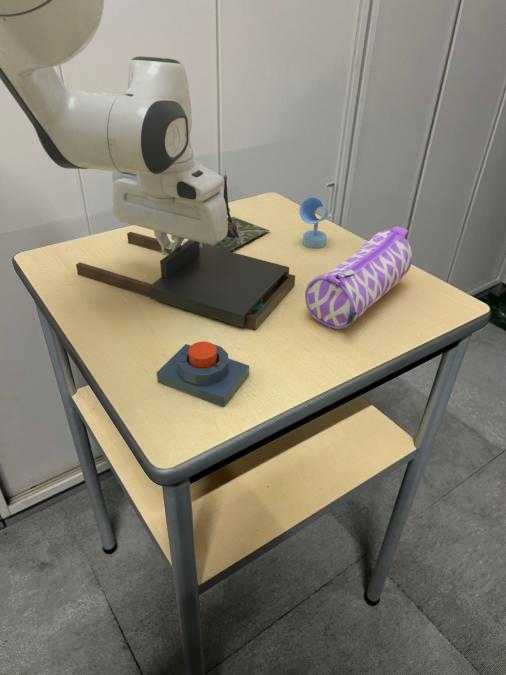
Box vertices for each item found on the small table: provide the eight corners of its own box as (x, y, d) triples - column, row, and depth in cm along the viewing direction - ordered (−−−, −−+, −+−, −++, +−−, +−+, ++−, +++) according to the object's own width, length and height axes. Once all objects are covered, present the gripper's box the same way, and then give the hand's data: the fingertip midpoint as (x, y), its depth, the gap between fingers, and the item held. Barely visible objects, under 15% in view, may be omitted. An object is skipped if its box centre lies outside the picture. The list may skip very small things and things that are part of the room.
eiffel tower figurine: (221, 259, 96) (220, 188, 88) (182, 243, 100) (177, 175, 92) (270, 232, 105) (273, 166, 97) (231, 218, 110) (231, 155, 102)
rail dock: (77, 274, 90) (75, 264, 89) (131, 240, 101) (130, 231, 99) (255, 330, 78) (255, 319, 76) (294, 285, 88) (295, 275, 87)
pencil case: (349, 343, 76) (358, 287, 70) (296, 320, 80) (300, 266, 74) (410, 283, 90) (422, 233, 84) (362, 266, 94) (370, 218, 89)
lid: (150, 298, 83) (146, 269, 80) (204, 255, 95) (203, 229, 92) (243, 327, 77) (244, 298, 74) (288, 278, 89) (290, 251, 86)
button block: (157, 382, 68) (155, 361, 66) (186, 353, 73) (185, 333, 71) (223, 407, 64) (223, 386, 62) (249, 375, 69) (249, 354, 67)
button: (183, 364, 66) (182, 353, 65) (198, 348, 69) (198, 338, 68) (207, 372, 65) (207, 362, 64) (222, 357, 67) (221, 346, 66)
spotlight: (318, 253, 98) (331, 239, 103) (323, 203, 92) (337, 191, 97) (294, 247, 100) (308, 234, 105) (298, 197, 94) (313, 186, 99)
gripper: (98, 168, 81) (110, 248, 89) (211, 193, 74) (213, 278, 82) (123, 157, 85) (133, 234, 93) (232, 180, 78) (232, 261, 86)
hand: (171, 255), depth 88 cm, fingers closed
